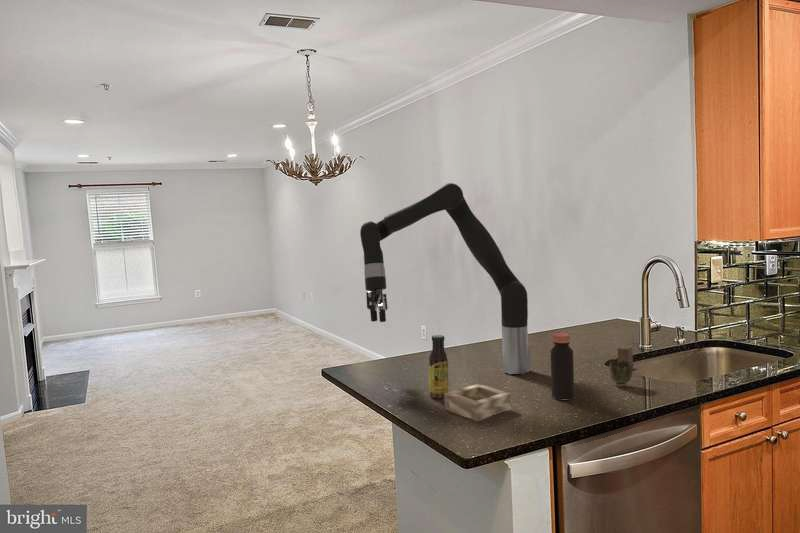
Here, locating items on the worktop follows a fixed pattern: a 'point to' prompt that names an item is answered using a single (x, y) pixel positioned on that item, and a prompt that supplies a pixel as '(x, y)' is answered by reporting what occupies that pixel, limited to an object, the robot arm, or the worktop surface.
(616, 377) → the cup
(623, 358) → the wooden block
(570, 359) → the vinegar
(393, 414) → the worktop surface
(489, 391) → the socket block
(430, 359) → the sauce bottle
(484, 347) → the worktop surface
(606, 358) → the worktop surface
